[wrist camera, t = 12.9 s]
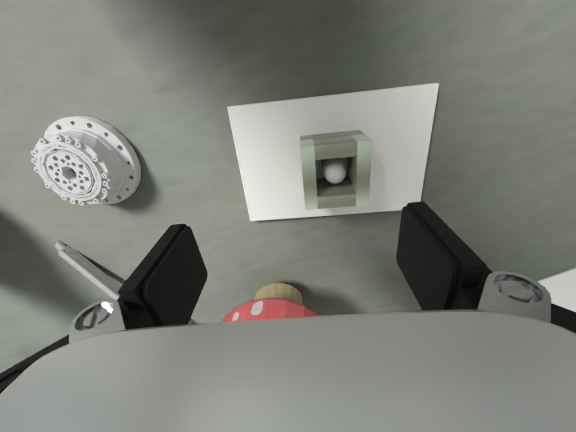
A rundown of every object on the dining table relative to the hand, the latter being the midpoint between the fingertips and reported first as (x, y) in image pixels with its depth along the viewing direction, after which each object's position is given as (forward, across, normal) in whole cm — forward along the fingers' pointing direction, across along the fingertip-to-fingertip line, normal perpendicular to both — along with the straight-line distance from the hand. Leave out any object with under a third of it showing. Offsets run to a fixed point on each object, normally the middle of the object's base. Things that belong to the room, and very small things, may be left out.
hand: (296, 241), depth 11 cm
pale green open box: (+17, -4, +2) cm, 18 cm away
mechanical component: (+19, +23, 0) cm, 30 cm away
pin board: (+18, -4, +2) cm, 19 cm away
